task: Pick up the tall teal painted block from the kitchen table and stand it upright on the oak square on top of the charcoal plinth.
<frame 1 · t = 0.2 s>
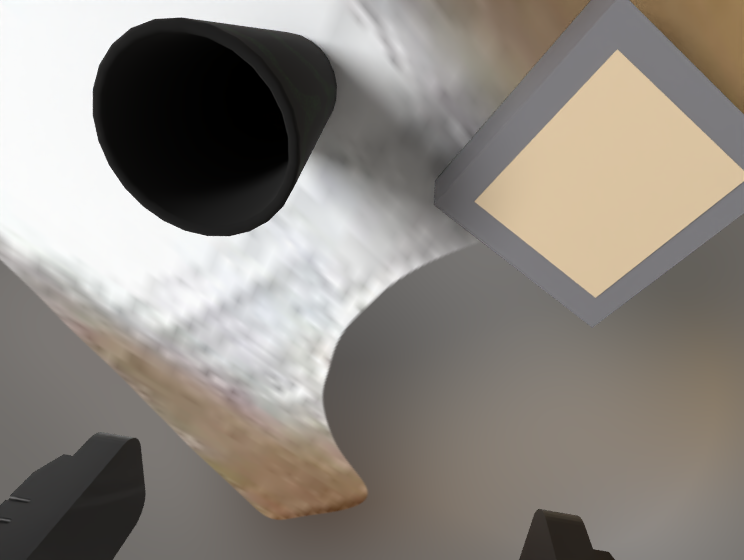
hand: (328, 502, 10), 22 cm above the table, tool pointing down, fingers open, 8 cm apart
cup: (290, 86, 28), on the table
plinth: (584, 165, 27), on the table
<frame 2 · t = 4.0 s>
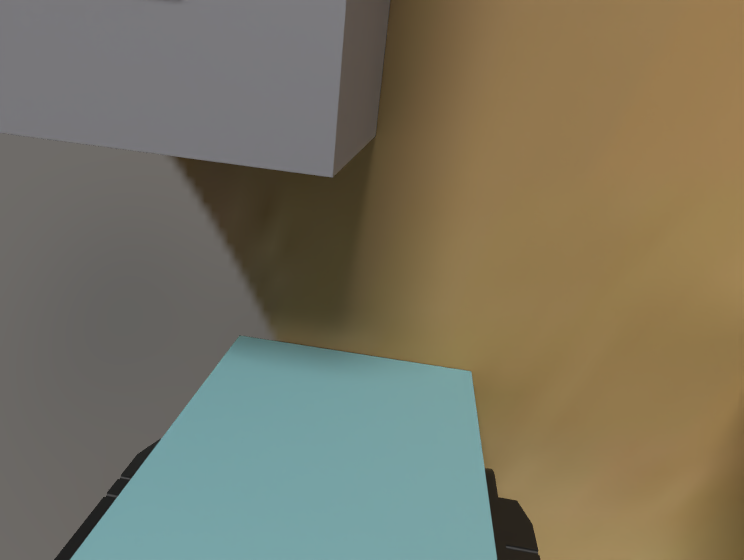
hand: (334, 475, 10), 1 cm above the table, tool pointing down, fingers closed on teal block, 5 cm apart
teal block: (343, 444, 11), on the table, touching gripper
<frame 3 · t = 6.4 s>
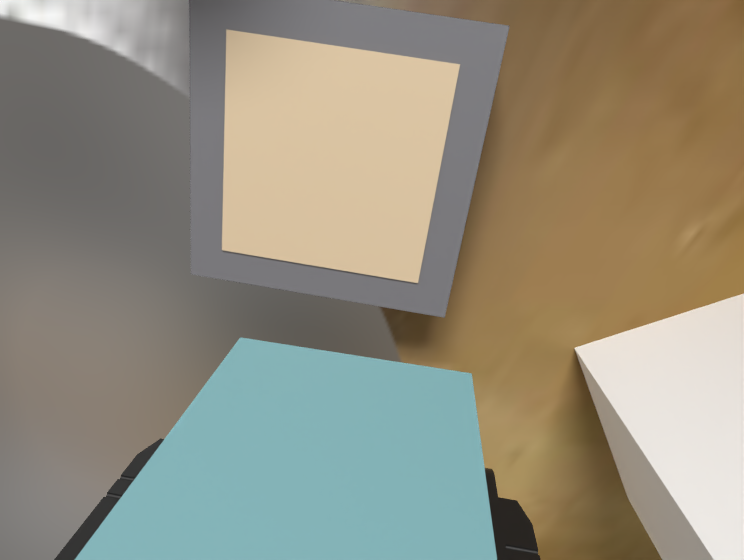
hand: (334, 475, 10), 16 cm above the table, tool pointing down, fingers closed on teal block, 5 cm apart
milk: (710, 395, 27), on the table
plinth: (344, 153, 24), on the table
teal block: (344, 446, 11), point 15 cm above the table, touching gripper
when the fingers open (7 cm above the table, at t = 8.7 s): teal block drops 2 cm, resting on plinth.
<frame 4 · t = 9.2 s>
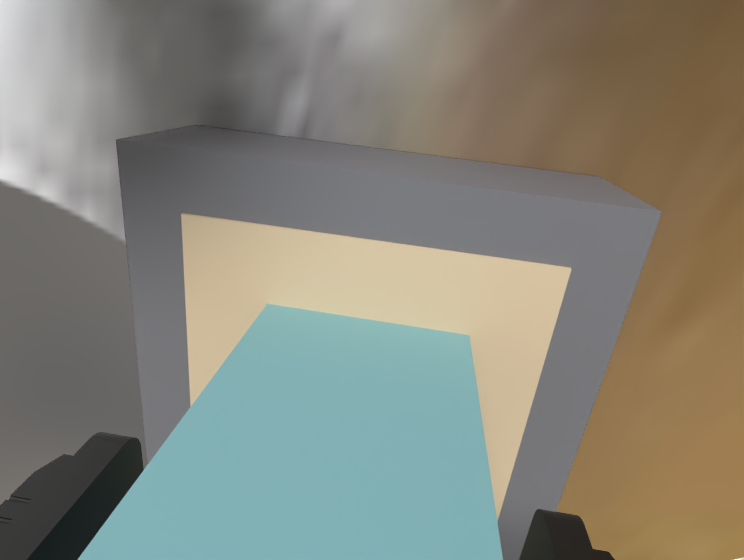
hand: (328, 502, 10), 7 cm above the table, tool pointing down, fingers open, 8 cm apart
plinth: (370, 328, 16), on the table
teal block: (356, 402, 13), point 4 cm above the table, touching plinth
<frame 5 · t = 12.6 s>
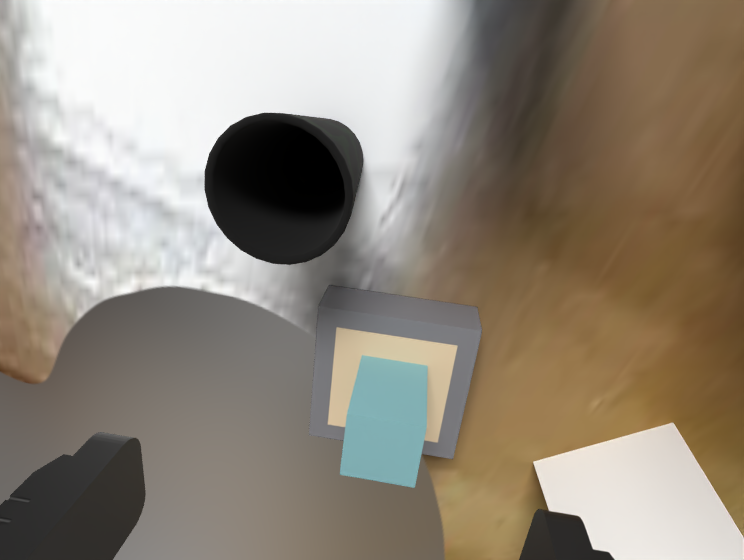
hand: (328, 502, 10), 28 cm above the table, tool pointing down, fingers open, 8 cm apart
cup: (326, 158, 35), on the table
milk: (618, 488, 44), on the table
plinth: (392, 359, 41), on the table
teal block: (390, 387, 37), point 4 cm above the table, touching plinth
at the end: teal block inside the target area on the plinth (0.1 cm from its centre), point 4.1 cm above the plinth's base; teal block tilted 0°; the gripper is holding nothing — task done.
